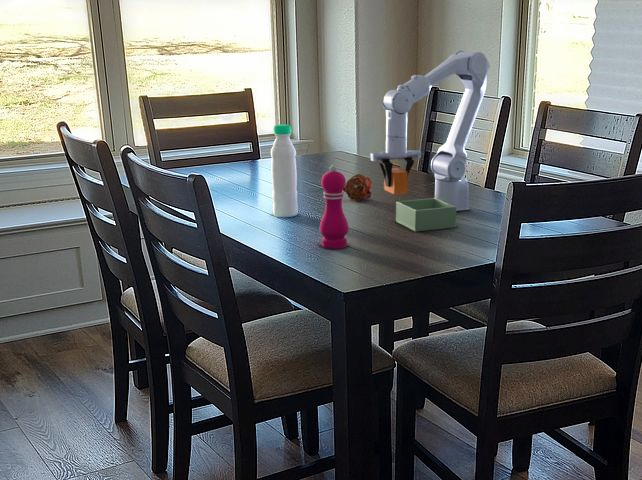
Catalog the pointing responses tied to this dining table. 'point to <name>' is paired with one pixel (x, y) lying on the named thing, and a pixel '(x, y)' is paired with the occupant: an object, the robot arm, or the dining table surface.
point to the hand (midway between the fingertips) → (395, 185)
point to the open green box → (425, 214)
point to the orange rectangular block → (397, 182)
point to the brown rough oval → (358, 187)
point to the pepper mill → (333, 210)
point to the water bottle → (284, 173)
